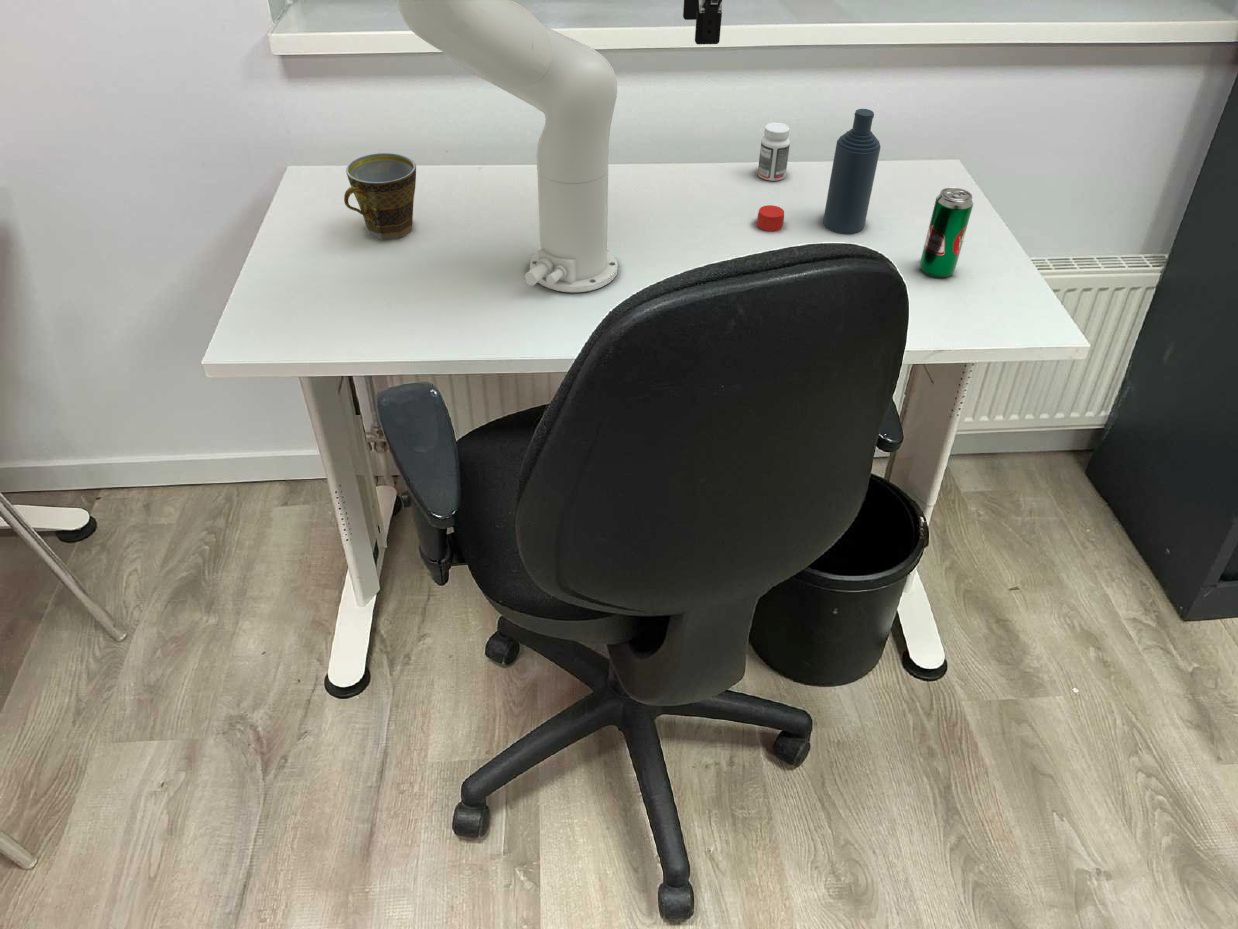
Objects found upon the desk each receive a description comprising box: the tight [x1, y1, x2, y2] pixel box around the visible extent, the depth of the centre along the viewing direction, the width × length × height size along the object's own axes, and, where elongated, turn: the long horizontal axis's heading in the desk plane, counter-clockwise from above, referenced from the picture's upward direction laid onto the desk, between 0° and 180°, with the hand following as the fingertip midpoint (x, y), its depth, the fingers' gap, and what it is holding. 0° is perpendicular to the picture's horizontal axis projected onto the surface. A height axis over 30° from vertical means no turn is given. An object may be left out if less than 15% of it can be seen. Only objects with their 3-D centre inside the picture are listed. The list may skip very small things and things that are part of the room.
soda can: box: [919, 187, 974, 279], centre depth 141 cm, size 5×5×12 cm
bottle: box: [822, 108, 882, 235], centre depth 149 cm, size 6×6×18 cm
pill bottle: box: [757, 122, 791, 182], centre depth 165 cm, size 5×5×8 cm
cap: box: [756, 204, 785, 232], centre depth 154 cm, size 4×4×2 cm
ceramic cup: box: [343, 152, 417, 241], centre depth 147 cm, size 13×10×10 cm
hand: (700, 30), depth 134 cm, fingers open, 9 cm apart
